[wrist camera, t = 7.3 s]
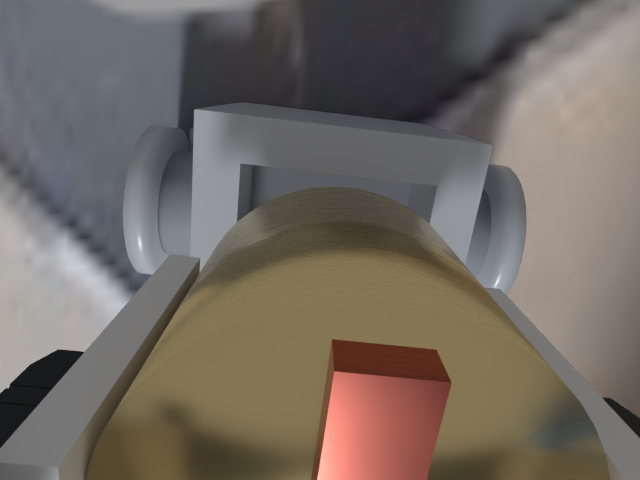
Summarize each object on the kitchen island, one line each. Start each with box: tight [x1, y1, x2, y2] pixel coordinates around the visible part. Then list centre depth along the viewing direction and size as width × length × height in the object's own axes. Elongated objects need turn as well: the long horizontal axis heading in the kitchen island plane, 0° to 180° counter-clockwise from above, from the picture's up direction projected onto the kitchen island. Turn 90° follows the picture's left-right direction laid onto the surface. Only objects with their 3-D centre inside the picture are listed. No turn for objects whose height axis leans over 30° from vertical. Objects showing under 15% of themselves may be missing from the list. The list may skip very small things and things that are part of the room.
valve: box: [86, 187, 610, 480], centre depth 10 cm, size 7×7×9 cm
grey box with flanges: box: [123, 102, 526, 295], centre depth 20 cm, size 16×9×10 cm, turn 83°
